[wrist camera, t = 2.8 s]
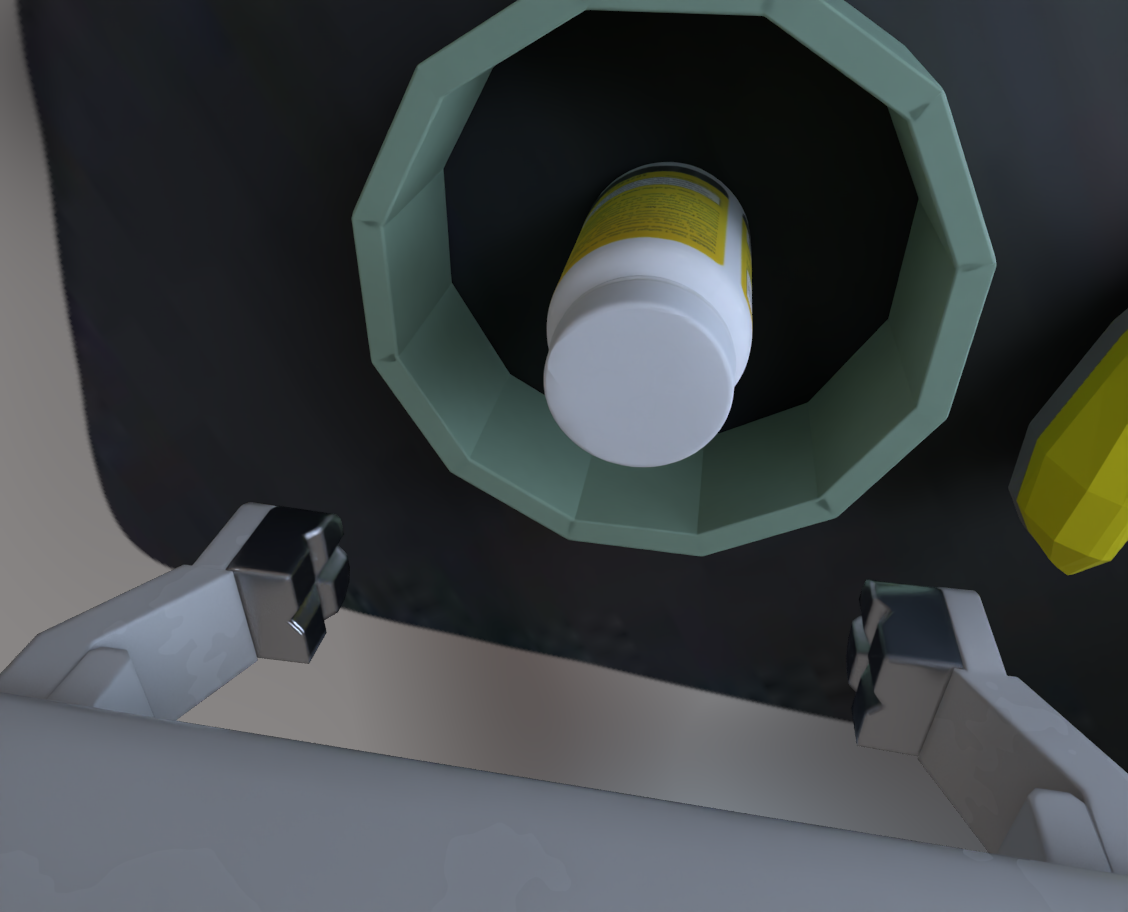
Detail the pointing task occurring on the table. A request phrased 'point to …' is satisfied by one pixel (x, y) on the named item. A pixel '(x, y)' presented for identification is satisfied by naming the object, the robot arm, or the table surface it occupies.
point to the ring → (732, 458)
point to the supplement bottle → (651, 317)
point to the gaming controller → (1080, 460)
